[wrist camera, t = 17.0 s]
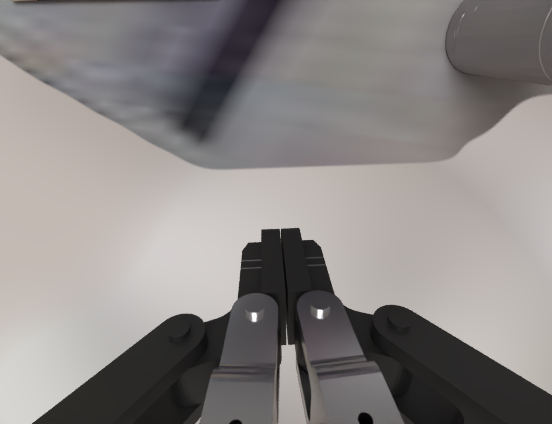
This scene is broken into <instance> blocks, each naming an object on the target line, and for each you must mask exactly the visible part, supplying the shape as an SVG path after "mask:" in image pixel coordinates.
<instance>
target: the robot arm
mask: <svg viewBox="0 0 552 424" xmlns="http://www.w3.org/2000/svg"><path fill="white" fill-rule="evenodd" d="M446 51H447V54H448V58H449V60H450V61H451V63H452V65H453V66H454V67H455V68H456V69H458V70H459V71H461V72H463V73H467V74H473V75H480V76H487V77H493V78H501V79H508V80H516V81H523V82H530V83H538V84H545V85H552V0H465V1H464V2H463V3H462V4H461V5H460V6H459V8H458V9H457V11H456V12H455V14H454V16H453V18H452V20H451V22H450V24H449V28H448V31H447V37H446ZM261 231H262V233H261V236H262V237H261V242H257V243H256V242H255V243H248V244H247V246H246V247H245V248H244V249H243V251H242V262H241V271H240V281H239V291H238V300H237V301H236V302H235V303H234V305H233V307H232V309H231V311H230V312H228V313H227V314H225V315H224V316H222V317H220V318H217V319H214V320H211V321H208V322H203V321H202V319H201V318H199V317H198V316H196V315H193V314H179V315H176V316H173V317H171V318H169V319H167V320H166V321H164V322H163V323H161V324H160V325H159V326H158V327H156V328H155V329H154V330H152V331H151V332H150V333H149V334H147V335H146V336H145V337H143V338H142V339H141V340H139V341H138V342H137V343H136V344H134V345H133V346H132V347H130V348H129V349H128V350H127V351H125V352H124V353H123V354H121V355H120V356H119V357H118V358H116V359H115V360H114V361H112V362H111V363H110V364H109V365H107V366H106V367H105V368H103V369H102V370H101V371H99V372H98V373H97V374H96V375H94V376H93V377H92V378H90V379H89V380H88V381H86V382H85V383H84V384H83V385H81V386H80V387H79V388H78V389H76V390H75V391H74V392H72V393H71V394H70V395H68V396H67V397H66V398H65V399H63V400H62V401H61V402H59V403H58V404H57V405H55V406H54V407H53V408H52V409H50V410H49V411H48V412H47V413H45V414H44V415H43V416H41V417H40V418H39V419H37V420H36V421H35V422H33V423H32V424H195V423H196V422H197V421H198V420H199V418H200V417H201V419H200V423H199V424H278V413H279V378H280V364H281V357H282V356H281V345H286V325H287V336H288V344H289V345H292V344H295V349H296V369H297V374H298V380H299V385H300V391H301V396H302V402H303V406H304V412H305V417H306V423H307V424H552V395H551V394H549V393H547V392H546V391H544V390H542V389H541V388H539V387H537V386H535V385H534V384H532V383H531V382H529V381H527V380H526V379H524V378H522V377H521V376H519V375H517V374H516V373H514V372H512V371H511V370H509V369H507V368H506V367H504V366H502V365H501V364H499V363H497V362H495V361H494V360H492V359H491V358H489V357H487V356H486V355H484V354H483V353H481V352H479V351H478V350H475V349H474V348H473V347H471V346H469V345H467V344H466V343H464V342H462V341H461V340H459V339H458V338H456V337H454V336H452V335H451V334H449V333H447V332H446V331H444V330H442V329H441V328H439V327H438V326H436V325H434V324H433V323H431V322H429V321H428V320H426V319H424V318H423V317H421V316H419V315H418V314H416V313H414V312H413V311H411V310H409V309H407V308H405V307H401V306H397V305H385V306H382V307H380V308H378V309H377V310H376V311H375V313H374V315H372V314H367V313H362V312H358V311H354V310H352V309H349V308H347V307H346V306H344V305H343V304H342V302H341V300H340V299H339V298H338V297H337V296H335V294H334V291H333V288H332V284H331V281H330V277H329V274H328V270H327V267H326V264H325V260H324V258H323V253H322V250H321V247H320V246H319V245H318V244H317V243H316V242H315V241H314V240H303V241H302V238H301V233H300V229H299V228H290V229H281V238H280V229H266V230H265V229H264V230H261Z"/></svg>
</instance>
